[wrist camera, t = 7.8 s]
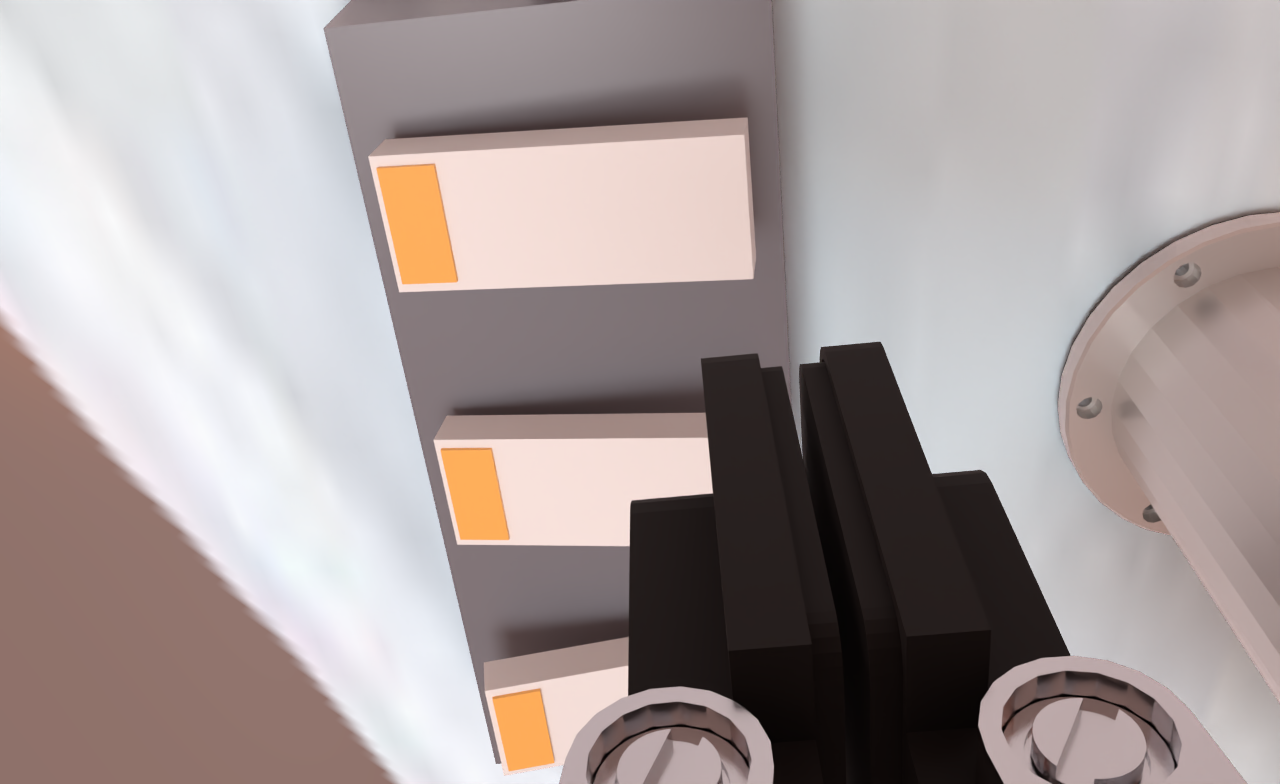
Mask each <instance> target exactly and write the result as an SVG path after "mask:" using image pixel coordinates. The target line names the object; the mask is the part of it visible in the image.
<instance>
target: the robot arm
mask: <svg viewBox="0 0 1280 784" xmlns="http://www.w3.org/2000/svg"><path fill="white" fill-rule="evenodd" d="M1180 266H1182V267H1181V268H1179V267H1180ZM1178 268H1179V269H1178ZM701 368H702V379H703V390H704V401H705V412H706V423H707V434H708V445H709V456H710V467H711V478H712V489H713V493H711V494H699V495H688V496H676V497H665V498H653V499H642V500H632V501H631V504H630V558H629V649H628V696H627V697H624V698H621V699H619V700H618V701H616V702H614V703H613V704H611V705H609V706H608V707H606V708H604V709H603V710H601V711H600V712H598V713H596V714H595V715H594V716H593V717H592V718H591V719H590V721H589V722H588V723H587V724H586V725H585V726H584V727H583V728H582V729H581V730H580V731H579V732H578V733H577V735H576V737H575V739H574V741H573V743H572V746H571V748H570V750H569V752H568V754H567V756H566V759H565V763H564V766H563V770H562V774H561V778H560V782H559V784H1247V782H1246V781H1245V780H1244V779H1243V777H1242V776H1241V775H1240V773H1239V772H1238V771H1237V770H1236V768H1235V767H1234V766H1233V764H1232V763H1231V762H1230V760H1229V759H1228V758H1227V757H1226V755H1225V754H1224V753H1223V751H1222V750H1221V749H1220V747H1219V746H1218V745H1217V744H1216V742H1215V741H1214V740H1213V738H1212V737H1211V736H1210V735H1209V733H1208V732H1207V731H1206V729H1205V728H1204V727H1203V725H1202V724H1201V723H1200V722H1199V720H1198V719H1197V718H1196V716H1195V715H1194V714H1193V712H1192V711H1191V710H1190V709H1189V708H1188V707H1187V706H1186V705H1185V704H1184V703H1183V702H1182V701H1181V700H1180V699H1179V698H1178V697H1177V696H1176V695H1175V694H1174V693H1173V692H1172V691H1170V690H1169V689H1168V688H1167V687H1165V686H1163V685H1162V684H1160V683H1158V682H1157V681H1155V680H1153V679H1152V678H1150V677H1148V676H1146V675H1145V674H1143V673H1141V672H1140V671H1137V670H1134V669H1131V668H1128V667H1125V666H1122V665H1119V664H1117V663H1114V662H1111V661H1108V660H1102V659H1094V658H1087V657H1080V656H1070V653H1069V651H1068V649H1067V647H1066V645H1065V642H1064V640H1063V638H1062V636H1061V634H1060V631H1059V629H1058V627H1057V625H1056V623H1055V620H1054V618H1053V616H1052V614H1051V612H1050V610H1049V607H1048V605H1047V603H1046V601H1045V599H1044V596H1043V594H1042V592H1041V590H1040V588H1039V585H1038V583H1037V581H1036V579H1035V577H1034V574H1033V572H1032V570H1031V568H1030V566H1029V563H1028V561H1027V559H1026V557H1025V555H1024V552H1023V550H1022V548H1021V546H1020V544H1019V541H1018V539H1017V537H1016V535H1015V533H1014V530H1013V528H1012V526H1011V524H1010V522H1009V519H1008V517H1007V515H1006V513H1005V511H1004V508H1003V506H1002V504H1001V502H1000V500H999V497H998V495H997V493H996V491H995V489H994V486H993V484H992V482H991V481H990V479H989V477H988V476H987V474H986V473H985V472H983V471H981V470H975V471H963V472H952V473H940V474H932V473H931V471H930V468H929V466H928V463H927V460H926V458H925V455H924V452H923V450H922V447H921V445H920V442H919V439H918V437H917V434H916V431H915V429H914V426H913V424H912V421H911V418H910V416H909V413H908V411H907V408H906V405H905V403H904V400H903V397H902V395H901V392H900V390H899V387H898V384H897V382H896V379H895V377H894V374H893V371H892V369H891V366H890V363H889V361H888V358H887V356H886V353H885V350H884V348H883V346H882V344H881V342H872V343H861V344H850V345H839V346H829V347H821V350H820V363H809V364H800V367H799V383H800V405H801V428H802V451H803V459H802V454H801V450H800V445H799V440H798V436H797V431H796V427H795V422H794V417H793V413H792V408H791V404H790V399H789V394H788V390H787V385H786V381H785V376H784V372H783V368H782V366H777V367H766V368H761V366H760V361H759V356H758V353H753V354H743V355H732V356H721V357H710V358H701ZM1058 413H1059V424H1060V433H1061V436H1062V439H1063V442H1064V445H1065V448H1066V451H1067V454H1068V456H1069V459H1070V460H1071V462H1072V464H1073V465H1074V467H1075V469H1076V470H1077V472H1078V474H1079V476H1080V478H1081V480H1082V481H1083V483H1084V484H1085V485H1086V486H1087V487H1088V489H1089V490H1090V491H1091V492H1092V493H1093V495H1094V496H1095V497H1096V498H1097V499H1098V500H1099V502H1101V503H1102V504H1103V505H1105V506H1106V507H1107V508H1109V509H1110V510H1111V511H1113V512H1114V513H1115V514H1117V515H1118V516H1119V517H1121V518H1122V519H1124V520H1127V521H1129V522H1131V523H1133V524H1135V525H1137V526H1139V527H1141V528H1144V529H1146V530H1150V531H1154V532H1158V533H1162V534H1166V535H1170V536H1172V537H1173V539H1174V540H1175V542H1176V543H1177V545H1178V547H1179V548H1180V550H1181V551H1182V553H1183V554H1184V556H1185V557H1186V559H1187V561H1188V562H1189V564H1190V565H1191V567H1192V568H1193V570H1194V571H1195V573H1196V575H1197V576H1198V578H1199V579H1200V581H1201V582H1202V584H1203V585H1204V587H1205V589H1206V590H1207V592H1208V593H1209V595H1210V596H1211V598H1212V599H1213V601H1214V603H1215V604H1216V606H1217V607H1218V609H1219V610H1220V612H1221V613H1222V615H1223V617H1224V618H1225V620H1226V621H1227V623H1228V624H1229V626H1230V627H1231V629H1232V631H1233V632H1234V634H1235V635H1236V637H1237V638H1238V640H1239V641H1240V643H1241V645H1242V646H1243V648H1244V649H1245V651H1246V652H1247V654H1248V655H1249V657H1250V659H1251V660H1252V662H1253V663H1254V665H1255V666H1256V668H1257V669H1258V671H1259V673H1260V674H1261V676H1262V677H1263V679H1264V680H1265V682H1266V683H1267V685H1268V687H1269V688H1270V690H1271V691H1272V693H1273V694H1274V696H1275V697H1276V699H1277V701H1278V702H1279V704H1280V212H1277V213H1267V214H1257V215H1248V216H1245V217H1241V218H1237V219H1233V220H1230V221H1226V222H1222V223H1218V224H1215V225H1211V226H1209V227H1207V228H1204V229H1202V230H1200V231H1198V232H1195V233H1193V234H1191V235H1188V236H1186V237H1184V238H1182V239H1179V240H1177V241H1175V242H1173V243H1172V244H1170V245H1169V246H1167V247H1166V248H1164V249H1162V250H1161V251H1159V252H1158V253H1156V254H1154V255H1153V256H1151V257H1150V258H1148V259H1147V260H1145V261H1143V262H1142V263H1141V264H1140V265H1138V266H1137V267H1136V268H1135V269H1134V270H1133V271H1132V272H1130V273H1129V274H1128V275H1127V276H1126V277H1125V278H1123V279H1122V280H1121V281H1120V282H1119V283H1118V284H1117V285H1115V286H1114V287H1113V288H1112V289H1111V291H1110V292H1109V293H1108V294H1107V295H1106V297H1105V298H1104V299H1103V300H1102V301H1101V303H1100V304H1099V305H1098V306H1097V307H1096V309H1095V310H1094V311H1093V312H1092V313H1091V315H1090V316H1089V318H1088V319H1087V321H1086V323H1085V324H1084V326H1083V328H1082V330H1081V331H1080V333H1079V335H1078V336H1077V338H1076V340H1075V342H1074V343H1073V345H1072V348H1071V351H1070V353H1069V356H1068V359H1067V362H1066V365H1065V367H1064V370H1063V373H1062V377H1061V384H1060V392H1059V399H1058Z"/></svg>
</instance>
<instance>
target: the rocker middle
mask: <svg viewBox="0 0 1280 784" xmlns="http://www.w3.org/2000/svg"><path fill="white" fill-rule="evenodd" d="M434 444H435V449H436V453H437V458H438V462H439V466H440V471H441V475H442V480H443V484H444V488H445V493H446V497H447V501H448V506H449V510H450V515H451V519H452V523H453V528H454V532H455V537H456V541H457V545H552V546H630V504H631V501H632V500H642V499H653V498H665V497H676V496H688V495H699V494H711V493H713V489H712V478H711V467H710V456H709V445H708V434H707V423H706V413H635V414H548V415H462V416H446V418H445V420H444V422H443V423H442V425H441V427H440V429H439V431H438V432H437V434H436V436H435V438H434Z"/></svg>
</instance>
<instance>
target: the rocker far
mask: <svg viewBox="0 0 1280 784" xmlns="http://www.w3.org/2000/svg"><path fill="white" fill-rule="evenodd" d="M628 649H629V637H625V638H619V639H614V640H608V641H602V642H597V643H591V644H585V645H580V646H574V647H568V648H563V649H557V650H551V651H546V652H540V653H535V654H529V655H523V656H518V657H512V658H506V659H501V660H495V661H489V662H484V685H485V695H486V699H487V703H488V708H489V712H490V716H491V720H492V725H493V729H494V733H495V738H496V742H497V746H498V751H499V755H500V759H501V764H502V768H503V772H504V776H506V775H511V774H516V773H522V772H527V771H533V770H538V769H544V768H549V767H555V766H560V765H564V763H565V759H566V756H567V754H568V752H569V750H570V748H571V746H572V743H573V741H574V739H575V737H576V735H577V733H578V732H579V731H580V730H581V729H582V728H583V727H584V726H585V725H586V724H587V723H588V722H589V721H590V719H591V718H592V717H593V716H594V715H595V714H596V713H598V712H600V711H601V710H603V709H604V708H606V707H608V706H609V705H611V704H613V703H614V702H616V701H618V700H619V699H621V698H624V697H627V696H628Z"/></svg>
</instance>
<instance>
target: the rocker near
mask: <svg viewBox="0 0 1280 784" xmlns="http://www.w3.org/2000/svg"><path fill="white" fill-rule="evenodd" d="M368 158H369V162H370V166H371V171H372V175H373V180H374V184H375V188H376V193H377V197H378V201H379V206H380V210H381V215H382V219H383V223H384V228H385V232H386V237H387V241H388V245H389V250H390V254H391V258H392V263H393V267H394V272H395V276H396V280H397V285H398V289H399V292H421V291H448V290H475V289H502V288H529V287H556V286H583V285H610V284H637V283H664V282H691V281H718V280H745V279H753V278H754V270H755V263H756V247H755V231H754V214H753V198H752V182H751V165H750V149H749V133H748V117H746V118H729V119H713V120H696V121H680V122H663V123H647V124H630V125H614V126H597V127H581V128H564V129H548V130H531V131H515V132H498V133H482V134H465V135H449V136H432V137H416V138H399V139H385V140H384V141H383V142H382V143H381V144H380V145H379V146H378V147H377V148H376V149H375V150H374V151H373V152H372V153H371V154H370V155H369V156H368Z"/></svg>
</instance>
